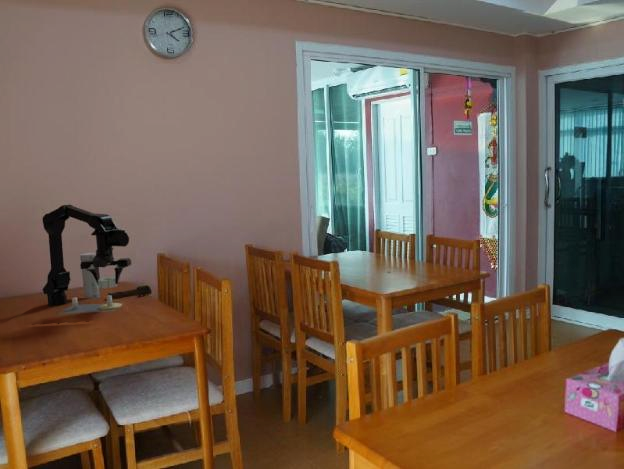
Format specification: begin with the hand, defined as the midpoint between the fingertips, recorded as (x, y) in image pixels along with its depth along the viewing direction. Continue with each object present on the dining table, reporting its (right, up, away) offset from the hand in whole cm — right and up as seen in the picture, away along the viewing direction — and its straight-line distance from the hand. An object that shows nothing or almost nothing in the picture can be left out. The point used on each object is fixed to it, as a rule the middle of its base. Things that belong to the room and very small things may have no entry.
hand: (107, 284), depth 229 cm
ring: (0, -1, 0) cm, 1 cm away
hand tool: (+2, -8, +22) cm, 24 cm away
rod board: (-6, -11, +1) cm, 12 cm away
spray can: (-16, -8, +25) cm, 31 cm away
